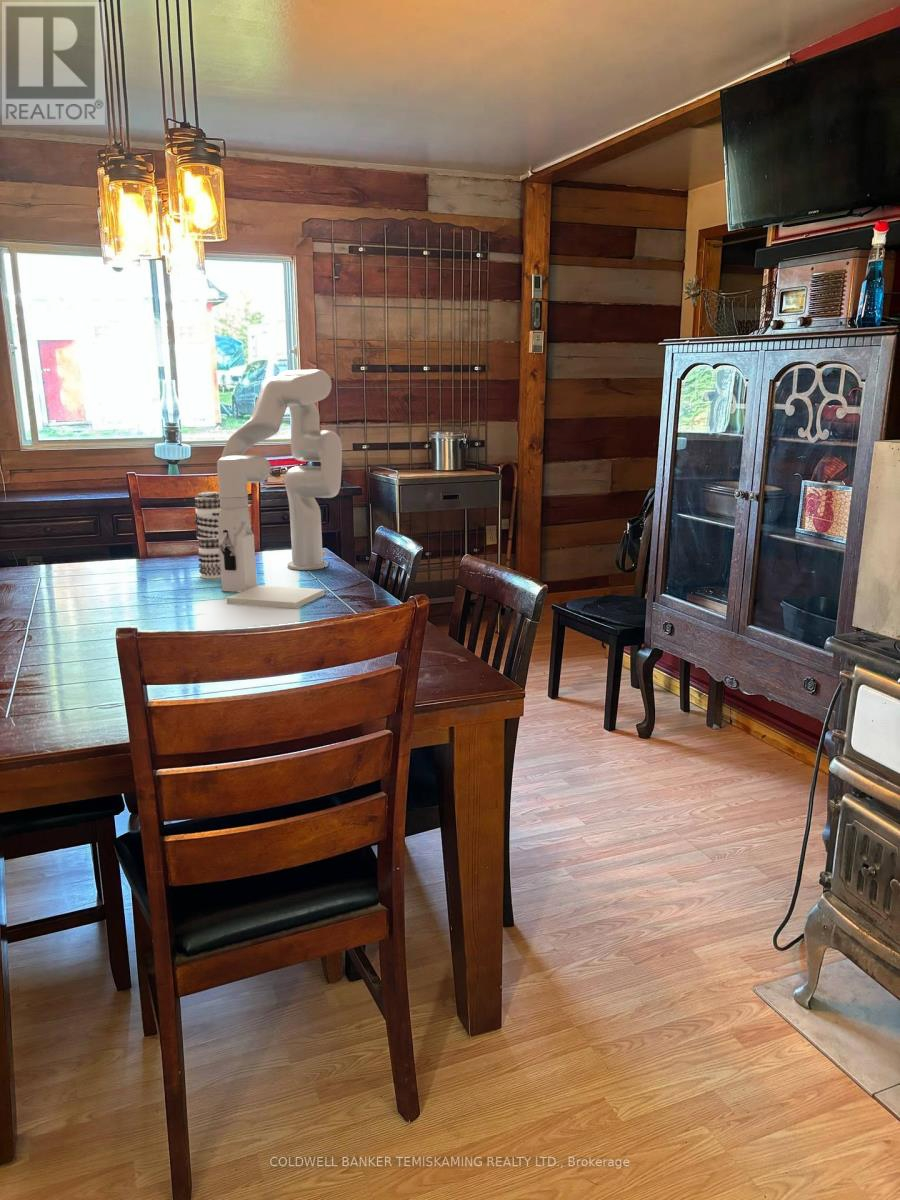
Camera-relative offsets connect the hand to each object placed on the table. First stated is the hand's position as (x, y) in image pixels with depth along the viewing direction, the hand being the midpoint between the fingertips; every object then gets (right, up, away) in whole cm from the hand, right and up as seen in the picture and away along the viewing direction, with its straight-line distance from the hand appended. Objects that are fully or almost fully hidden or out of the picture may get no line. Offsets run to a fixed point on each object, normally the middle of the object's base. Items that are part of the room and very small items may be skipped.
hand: (238, 566), depth 227 cm
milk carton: (0, -6, +1) cm, 7 cm away
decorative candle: (-13, -2, +21) cm, 24 cm away
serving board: (+13, -9, -11) cm, 19 cm away
